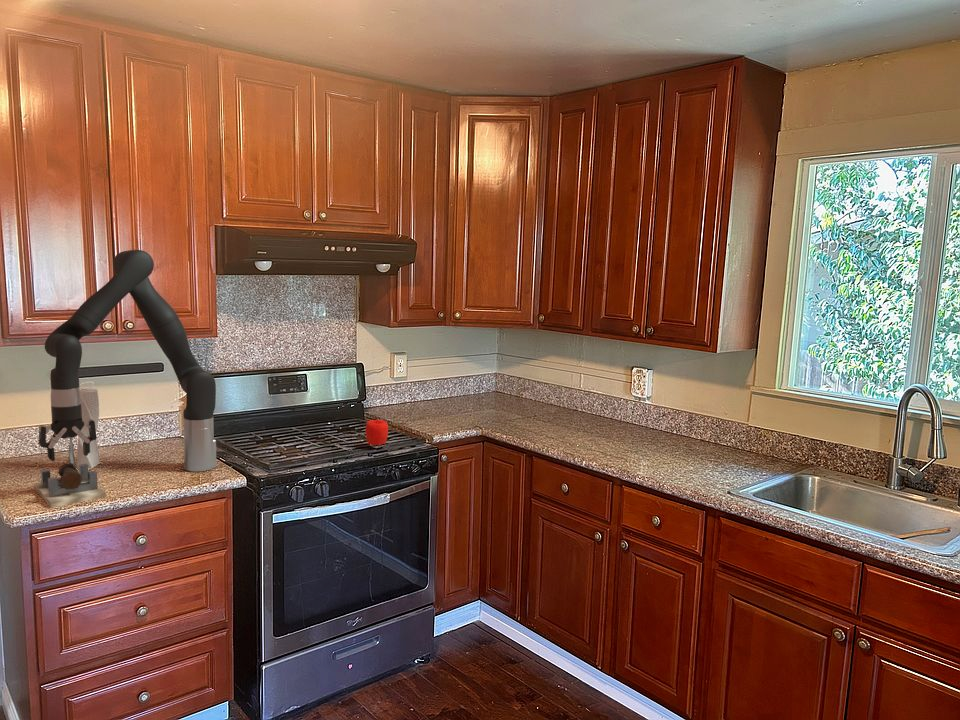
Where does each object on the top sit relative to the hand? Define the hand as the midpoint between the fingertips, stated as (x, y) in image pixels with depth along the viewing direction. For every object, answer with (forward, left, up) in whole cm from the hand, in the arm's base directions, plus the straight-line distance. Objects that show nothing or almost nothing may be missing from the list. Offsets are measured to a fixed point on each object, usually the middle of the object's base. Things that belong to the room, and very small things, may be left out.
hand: (69, 457), depth 204 cm
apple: (-102, +9, -11) cm, 103 cm away
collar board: (0, 0, -11) cm, 11 cm away
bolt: (0, 0, -7) cm, 7 cm away
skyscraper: (-11, -25, -11) cm, 30 cm away
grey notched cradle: (0, 0, -9) cm, 9 cm away
